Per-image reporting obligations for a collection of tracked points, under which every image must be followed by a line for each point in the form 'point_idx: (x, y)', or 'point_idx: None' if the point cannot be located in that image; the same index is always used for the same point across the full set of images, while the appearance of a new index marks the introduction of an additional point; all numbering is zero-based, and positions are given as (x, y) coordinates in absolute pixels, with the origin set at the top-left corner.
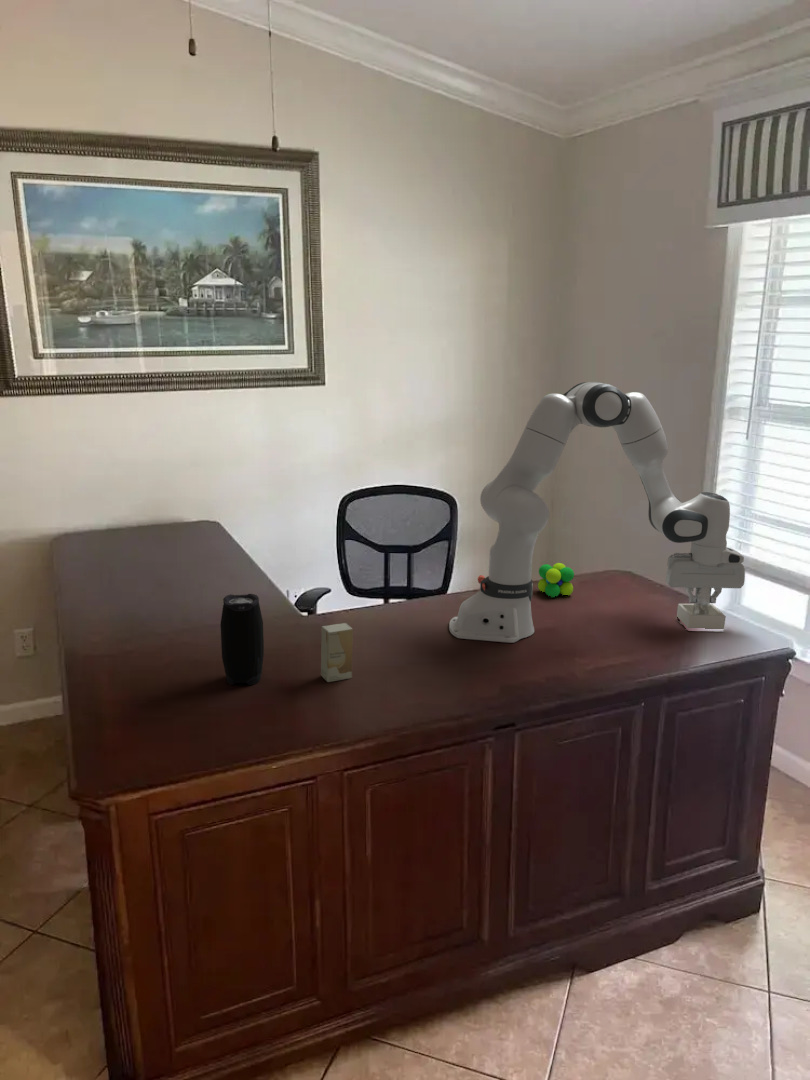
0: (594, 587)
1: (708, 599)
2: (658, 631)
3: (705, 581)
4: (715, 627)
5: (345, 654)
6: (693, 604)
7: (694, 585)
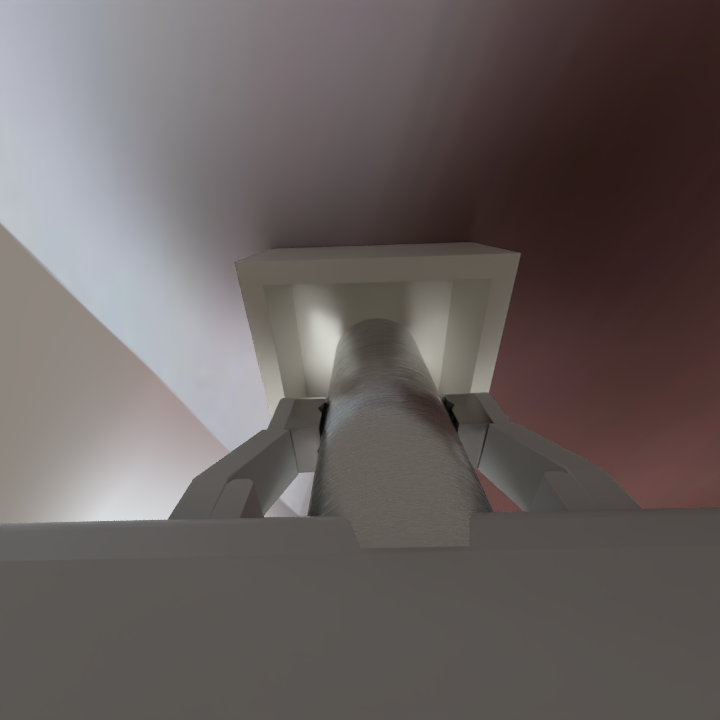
0: None
1: (351, 396)
2: (633, 237)
3: (478, 672)
4: (317, 249)
5: None
6: None
7: (645, 545)
